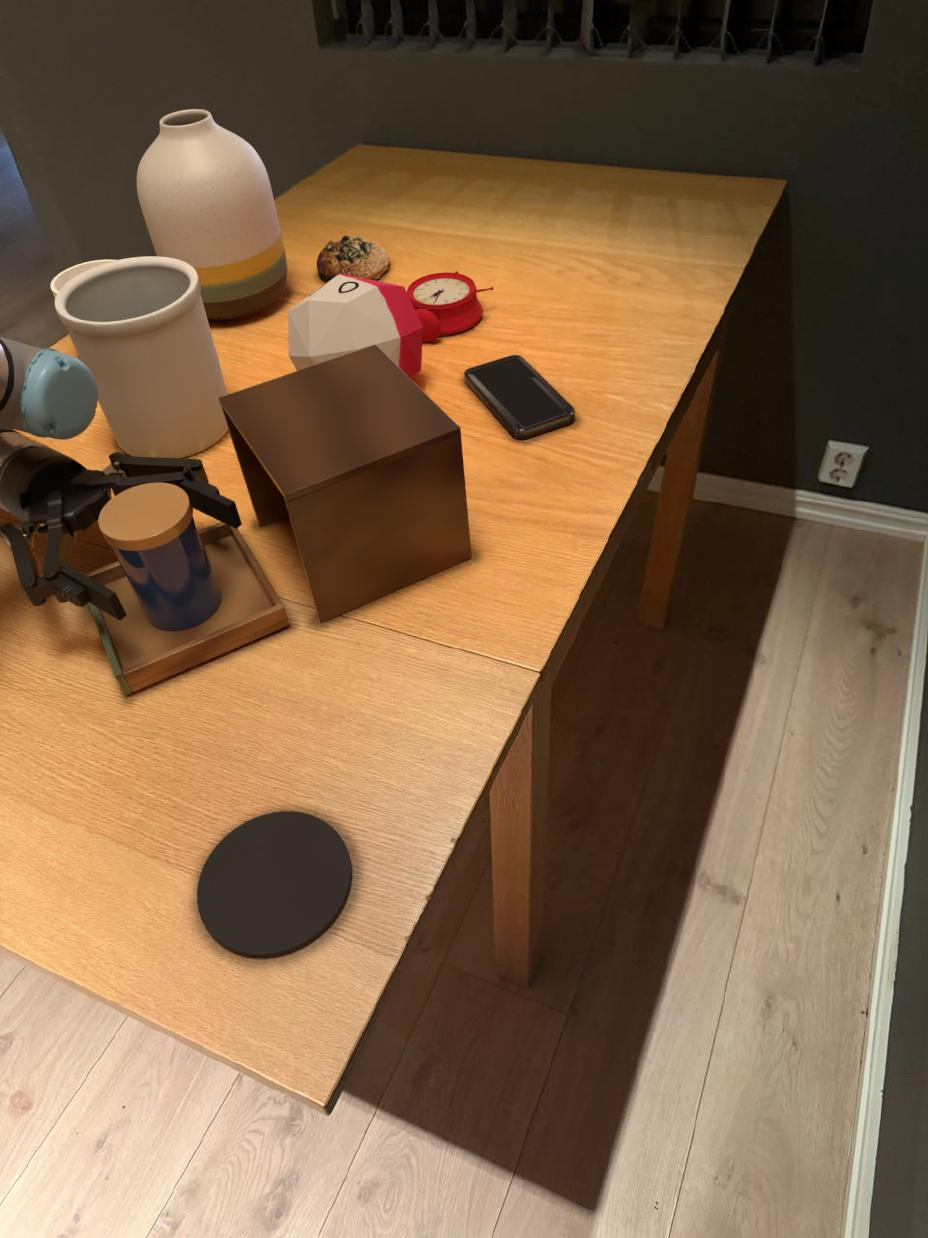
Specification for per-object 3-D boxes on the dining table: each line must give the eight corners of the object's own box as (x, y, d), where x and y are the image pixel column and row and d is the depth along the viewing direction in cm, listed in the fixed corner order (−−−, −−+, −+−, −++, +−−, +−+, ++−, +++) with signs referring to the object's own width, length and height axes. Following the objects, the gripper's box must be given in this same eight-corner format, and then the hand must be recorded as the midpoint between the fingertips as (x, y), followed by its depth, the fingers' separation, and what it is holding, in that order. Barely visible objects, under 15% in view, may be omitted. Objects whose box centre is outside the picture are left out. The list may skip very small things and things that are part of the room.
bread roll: (302, 269, 131) (300, 234, 128) (363, 254, 137) (363, 220, 133) (344, 296, 125) (343, 260, 122) (407, 279, 131) (407, 245, 127)
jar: (125, 612, 82) (79, 520, 74) (186, 564, 86) (149, 472, 78) (180, 645, 79) (137, 552, 71) (241, 593, 83) (207, 500, 75)
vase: (272, 333, 119) (224, 141, 101) (156, 330, 122) (90, 142, 104) (309, 275, 130) (271, 93, 113) (202, 273, 133) (150, 96, 116)
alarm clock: (503, 285, 116) (416, 302, 107) (498, 332, 120) (413, 352, 111) (450, 262, 121) (364, 277, 113) (447, 308, 125) (362, 326, 117)
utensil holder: (265, 413, 106) (226, 271, 93) (173, 480, 98) (117, 335, 85) (180, 382, 112) (133, 244, 99) (87, 443, 104) (23, 302, 91)
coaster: (167, 902, 63) (164, 898, 62) (274, 791, 69) (272, 787, 68) (277, 990, 58) (275, 987, 58) (382, 862, 64) (381, 858, 63)
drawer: (125, 695, 76) (114, 675, 74) (88, 594, 85) (77, 573, 83) (290, 625, 81) (283, 604, 79) (237, 535, 90) (230, 515, 88)
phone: (516, 433, 97) (461, 370, 107) (517, 441, 98) (461, 378, 108) (579, 412, 99) (519, 352, 109) (579, 421, 100) (519, 360, 109)
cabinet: (320, 623, 81) (284, 494, 70) (257, 523, 91) (218, 397, 81) (472, 558, 85) (460, 427, 75) (395, 469, 96) (375, 343, 85)
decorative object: (432, 253, 99) (339, 277, 89) (457, 386, 106) (373, 422, 95) (340, 269, 109) (247, 292, 98) (368, 391, 115) (283, 424, 105)
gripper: (145, 447, 95) (287, 512, 86) (-62, 586, 82) (79, 680, 73) (120, 387, 90) (269, 448, 80) (-106, 524, 77) (41, 618, 67)
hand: (179, 559), depth 77 cm, fingers open, 13 cm apart
